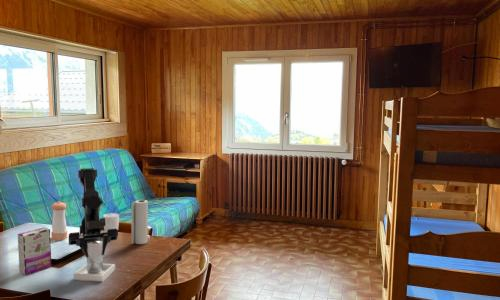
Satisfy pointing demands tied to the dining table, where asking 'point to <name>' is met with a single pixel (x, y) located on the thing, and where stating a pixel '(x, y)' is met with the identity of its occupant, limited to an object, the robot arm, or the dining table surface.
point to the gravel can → (94, 256)
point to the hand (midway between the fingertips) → (95, 255)
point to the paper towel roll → (139, 222)
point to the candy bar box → (34, 250)
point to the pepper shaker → (58, 221)
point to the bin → (95, 277)
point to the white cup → (111, 221)
